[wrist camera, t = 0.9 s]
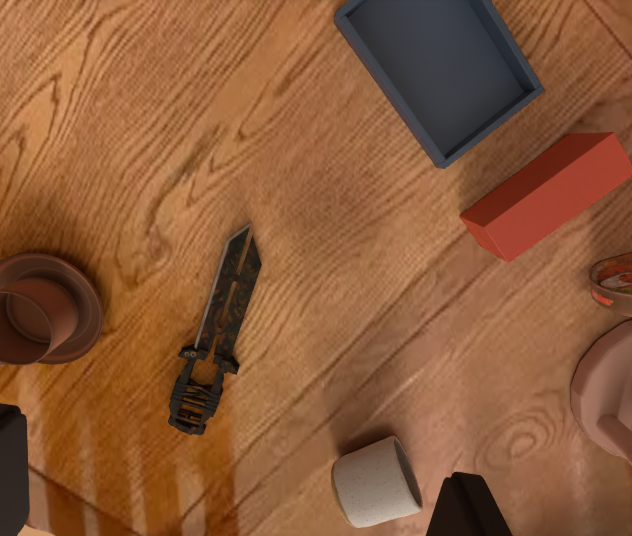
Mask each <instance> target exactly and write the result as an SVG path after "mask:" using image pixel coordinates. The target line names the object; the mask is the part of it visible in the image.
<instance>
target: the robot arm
mask: <svg viewBox="0 0 632 536" xmlns="http://www.w3.org/2000/svg"><path fill="white" fill-rule="evenodd" d="M29 509H30V506H29V476H28V445H27V419H26V416H25V415H24V414H21V410H20V408H19V407H18V406H15V405H8V404H1V403H0V536H17V535H18V533H19V532H20V531H21V529H22V528H23V527H24V525H25V523H26V521H27V518H28V515H29ZM426 536H513V535H512V533H511V531H510V529H509V527H508V525H507V523H506V521H505V520H504V518H503V516H502V514H501V512H500V510H499V508H498V506H497V504H496V502H495V500H494V498H493V496H492V494H491V492H490V490H489V488H488V486H487V484H486V482H485V480H484V479H483V477H482V476H480V475H475V474H469V473H462V472H454V473H453V474H452V476H451V478H448V477H446V478H445V479H444V481H443V484H442V487H441V490H440V493H439V496H438V499H437V502H436V505H435V509H434V512H433V515H432V518H431V521H430V524H429V527H428V530H427V534H426Z"/></svg>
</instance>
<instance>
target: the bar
mask: <svg viewBox="0 0 632 536" xmlns="http://www.w3.org/2000/svg"><path fill="white" fill-rule="evenodd" d="M631 176H632V163H631V161H630V159H629V157H628V156H627V154H626V152H625V150H624V149H623V147H622V145H621V143H620V142H619V140H618V138H617V136H616V135H615V133H614V132H606V133H587V134H568V135H567V136H565V137H564V138H563V139H561V140H560V141H559V142H557V143H556V144H555V145H553V146H552V147H551V148H549V149H548V150H547V151H545V152H544V153H543V154H541V155H540V156H539V157H537V158H536V159H535V160H533V161H532V162H531V163H529V164H528V165H527V166H525V167H524V168H523V169H521V170H520V171H519V172H517V173H516V174H515V175H513V176H512V177H511V178H509V179H508V180H507V181H505V182H504V183H503V184H501V185H500V186H499V187H497V188H496V189H495V190H493V191H492V192H491V193H489V194H488V195H487V196H485V197H484V198H483V199H481V200H480V201H479V202H477V203H476V204H475V205H473V206H472V207H471V208H469V209H468V210H466V211H465V212H464V213H462V214H461V215H460V218H461V219H462V221H463V222H464V223H465V225H466V226H467V228H468V229H469V230H470V232H471V233H472V235H473V236H474V237H475V239H476V240H477V241H478V243H479V244H480V246H481V247H483V248H485V249H486V250H488V251H490V252H491V253H493V254H495V255H496V256H498V257H500V258H501V259H503V260H505V261H506V262H508V263H509V262H510V261H512V260H513V259H515V258H516V257H517V256H519V255H520V254H522V253H523V252H524V251H526V250H527V249H529V248H530V247H532V246H533V245H534V244H536V243H537V242H539V241H540V240H542V239H543V238H544V237H546V236H547V235H549V234H550V233H551V232H553V231H554V230H556V229H557V228H559V227H560V226H561V225H563V224H564V223H566V222H567V221H569V220H570V219H571V218H573V217H574V216H576V215H577V214H578V213H580V212H581V211H583V210H584V209H586V208H587V207H588V206H590V205H591V204H593V203H594V202H596V201H597V200H598V199H600V198H601V197H603V196H604V195H605V194H607V193H608V192H610V191H611V190H613V189H614V188H615V187H617V186H618V185H620V184H621V183H623V182H624V181H625V180H627V179H628V178H630V177H631Z"/></svg>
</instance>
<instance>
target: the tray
mask: <svg viewBox="0 0 632 536" xmlns="http://www.w3.org/2000/svg"><path fill="white" fill-rule="evenodd" d="M334 23H335V25H336V26H337V28H338V29H339V30H340V32H341V33H342V35H343V36H344V38H345V39H346V40H347V42H348V43H349V45H350V46H351V47H352V49H353V50H354V52H355V53H356V54H357V56H358V57H359V59H360V60H361V61H362V63H363V64H364V66H365V67H366V69H367V70H368V71H369V73H370V74H371V76H372V77H373V78H374V80H375V81H376V83H377V84H378V85H379V87H380V88H381V90H382V91H383V93H384V94H385V95H386V97H387V98H388V100H389V101H390V102H391V104H392V105H393V107H394V108H395V109H396V111H397V112H398V114H399V115H400V116H401V118H402V119H403V121H404V122H405V124H406V125H407V126H408V128H409V129H410V131H411V132H412V133H413V135H414V136H415V138H416V139H417V140H418V142H419V143H420V145H421V146H422V148H423V149H424V150H425V152H426V153H427V155H428V156H429V157H430V159H431V160H432V162H433V163H434V164H435V166H436V167H437V168H443V169H445V168H446V167H448V166H449V165H450V164H451V163H453V162H454V161H455V160H457V159H458V158H459V157H460V156H462V155H463V154H464V153H466V152H467V151H468V150H469V149H471V148H472V147H473V146H475V145H476V144H477V143H478V142H480V141H481V140H482V139H484V138H485V137H486V136H487V135H489V134H490V133H491V132H493V131H494V130H495V129H496V128H498V127H499V126H500V125H501V124H503V123H504V122H505V121H507V120H508V119H509V118H510V117H512V116H513V115H514V114H516V113H517V112H518V111H519V110H521V109H522V108H523V107H525V106H526V105H527V104H528V103H530V102H531V101H532V100H534V99H535V98H536V97H537V96H539V95H540V94H541V93H542V92H544V91H545V89H544V88H543V86H542V85H541V83H540V81H539V79H538V78H537V76H536V74H535V73H534V71H533V69H532V68H531V66H530V64H529V63H528V61H527V59H526V58H525V56H524V54H523V53H522V51H521V49H520V48H519V46H518V44H517V43H516V41H515V39H514V38H513V36H512V34H511V33H510V31H509V30H508V28H507V26H506V25H505V23H504V21H503V20H502V18H501V16H500V15H499V13H498V11H497V10H496V8H495V6H494V5H493V3H492V1H491V0H348V1H347V2H346V3H345V4H344V5H343V6H342V7H341V8H340V9H339V10H338V11H337V12H335V16H334Z"/></svg>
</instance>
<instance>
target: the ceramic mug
mask: <svg viewBox="0 0 632 536" xmlns="http://www.w3.org/2000/svg"><path fill="white" fill-rule="evenodd" d="M331 484H332V490H333V494H334V498H335V501H336V504H337V506H338V509H339V511H340V513H341V515H342V517H343V518H344V520H345V521H346V522H347V523H348V524H349V525H350V526H352V527H355V528H361V527H368V526H373V525H376V524H379V523H382V522H385V521H388V520H392V519H396V518H399V517H403V516H407V515H410V514H414V513H417V512H420V511H421V510H422V508H423V501H422V496H421V493H420V489H419V486H418V483H417V480H416V477H415V474H414V471H413V469H412V466H411V464H410V461H409V459H408V457H407V455H406V453H405V450H404V448H403V446H402V445H401V443H400V441H399V440H398V438H397V437H395V436H390V437H388V438H385V439H383V440H381V441H378V442H375V443H373V444H371V445H368V446H366V447H364V448H362V449H359V450H357V451H354V452H352V453H349V454H347V455H345V456H343V457H341V458H340V459H338V460H337V461H336V462H335V463H334V464H333V467H332V469H331Z"/></svg>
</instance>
